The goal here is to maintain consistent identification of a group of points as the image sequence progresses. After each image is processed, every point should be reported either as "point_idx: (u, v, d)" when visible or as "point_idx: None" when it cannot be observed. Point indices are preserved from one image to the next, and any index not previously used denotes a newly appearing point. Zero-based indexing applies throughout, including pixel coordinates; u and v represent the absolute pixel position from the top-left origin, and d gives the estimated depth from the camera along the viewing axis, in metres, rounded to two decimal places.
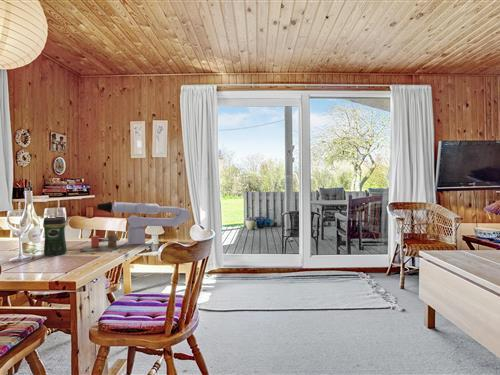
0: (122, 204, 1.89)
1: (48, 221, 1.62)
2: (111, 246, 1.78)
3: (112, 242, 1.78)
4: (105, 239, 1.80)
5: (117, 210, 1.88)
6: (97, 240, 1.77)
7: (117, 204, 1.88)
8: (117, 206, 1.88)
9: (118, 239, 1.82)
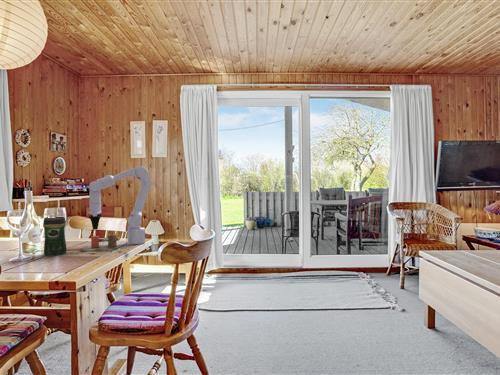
0: (91, 205, 1.82)
1: (48, 221, 1.62)
2: (111, 246, 1.78)
3: (112, 242, 1.78)
4: (105, 239, 1.80)
5: (98, 209, 1.83)
6: (97, 240, 1.77)
7: (91, 210, 1.82)
8: (93, 210, 1.82)
9: (118, 239, 1.82)
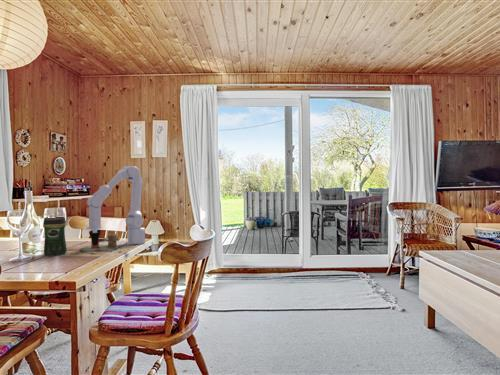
0: (90, 221, 1.76)
1: (48, 221, 1.62)
2: (111, 246, 1.78)
3: (112, 242, 1.78)
4: (105, 239, 1.80)
5: (98, 225, 1.77)
6: None
7: (91, 226, 1.76)
8: (93, 226, 1.76)
9: (118, 239, 1.82)
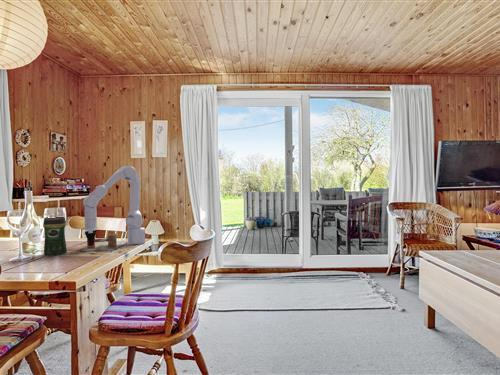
0: (86, 221, 1.75)
1: (48, 221, 1.62)
2: (111, 246, 1.78)
3: (112, 242, 1.78)
4: (101, 239, 1.79)
5: (94, 225, 1.76)
6: None
7: (86, 226, 1.75)
8: (89, 226, 1.75)
9: None
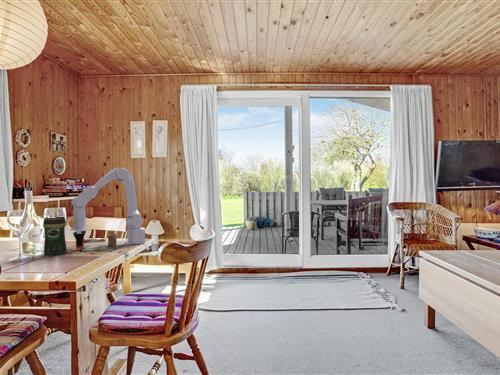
0: (74, 222, 1.73)
1: (48, 221, 1.62)
2: (111, 246, 1.78)
3: (112, 242, 1.78)
4: (90, 240, 1.77)
5: (82, 226, 1.74)
6: None
7: (75, 227, 1.73)
8: (77, 226, 1.73)
9: (103, 240, 1.79)
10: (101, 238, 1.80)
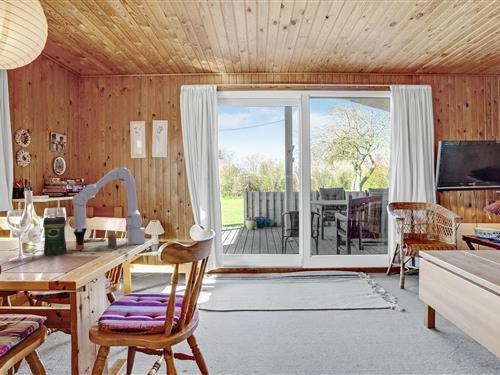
0: (75, 220, 1.73)
1: (48, 221, 1.62)
2: (111, 246, 1.78)
3: (112, 242, 1.78)
4: (90, 240, 1.77)
5: (83, 224, 1.74)
6: None
7: (76, 224, 1.73)
8: (78, 224, 1.73)
9: (103, 240, 1.79)
10: (101, 238, 1.80)
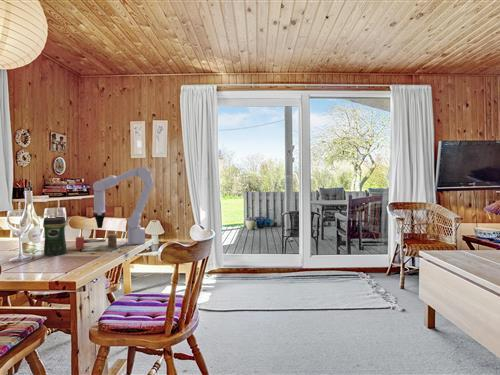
0: (95, 205, 1.88)
1: (48, 221, 1.62)
2: (111, 246, 1.78)
3: (112, 242, 1.78)
4: (90, 240, 1.77)
5: (102, 208, 1.89)
6: (82, 241, 1.75)
7: (96, 209, 1.88)
8: (98, 209, 1.87)
9: (103, 240, 1.79)
10: (101, 238, 1.80)
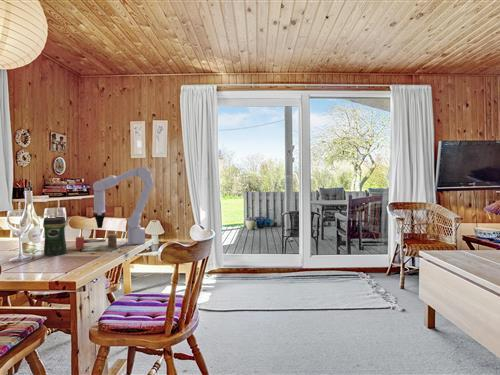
0: (95, 205, 1.88)
1: (48, 221, 1.62)
2: (111, 246, 1.78)
3: (112, 242, 1.78)
4: (90, 240, 1.77)
5: (102, 208, 1.89)
6: (82, 241, 1.75)
7: (96, 209, 1.88)
8: (98, 209, 1.87)
9: (103, 240, 1.79)
10: (101, 238, 1.80)
